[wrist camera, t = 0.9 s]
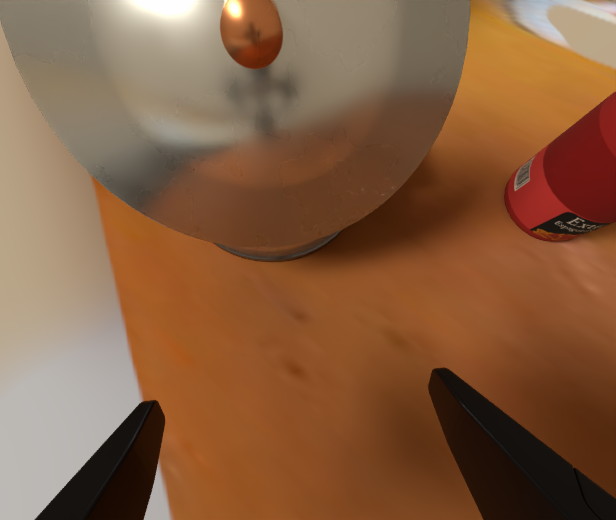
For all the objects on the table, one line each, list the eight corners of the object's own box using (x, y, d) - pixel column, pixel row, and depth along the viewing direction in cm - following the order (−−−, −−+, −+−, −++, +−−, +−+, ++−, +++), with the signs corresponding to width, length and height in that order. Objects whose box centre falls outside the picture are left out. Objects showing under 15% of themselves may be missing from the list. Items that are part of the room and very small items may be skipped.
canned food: (525, 253, 26) (684, 189, 15) (486, 177, 28) (602, 76, 18) (596, 232, 27) (791, 159, 16) (553, 161, 29) (701, 55, 19)
